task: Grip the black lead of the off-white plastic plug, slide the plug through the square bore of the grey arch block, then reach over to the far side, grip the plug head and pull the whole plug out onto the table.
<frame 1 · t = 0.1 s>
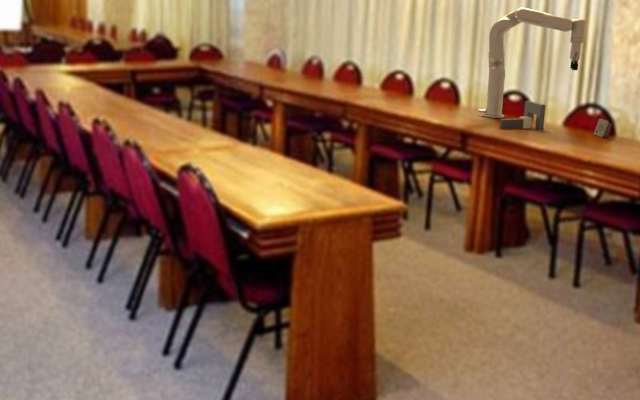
hand: (573, 69, 519), 31 cm above the table, tool pointing down, fingers open, 9 cm apart
grey arch block: (533, 127, 499), on the table
plug: (524, 127, 497), on the table
electrical switch: (601, 136, 477), on the table
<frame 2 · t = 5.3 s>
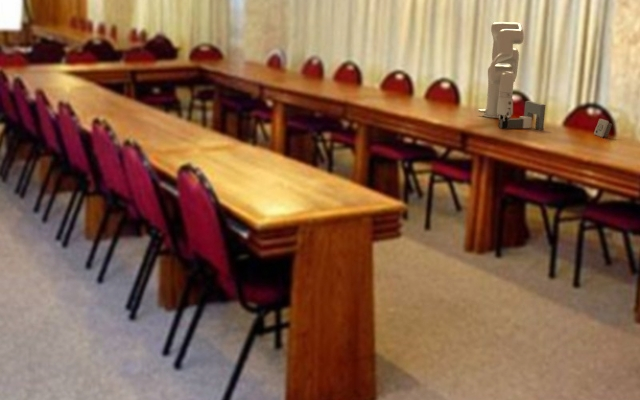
hand: (502, 127, 492), 1 cm above the table, tool pointing down, fingers closed on plug, 2 cm apart
plug: (524, 127, 497), on the table, touching gripper
everything else where it was.
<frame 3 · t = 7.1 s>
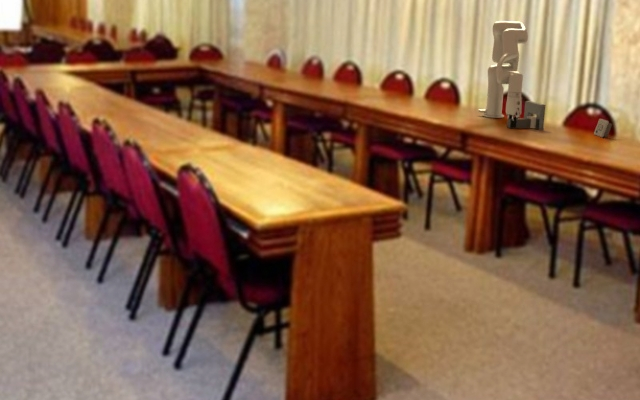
hand: (511, 126, 494), 1 cm above the table, tool pointing down, fingers closed on plug, 2 cm apart
plug: (532, 127, 499), on the table, touching gripper
everything else where it was.
when the fingers open (1 cm above the table, at t = 9.1 s): plug stays where it is, on the table.
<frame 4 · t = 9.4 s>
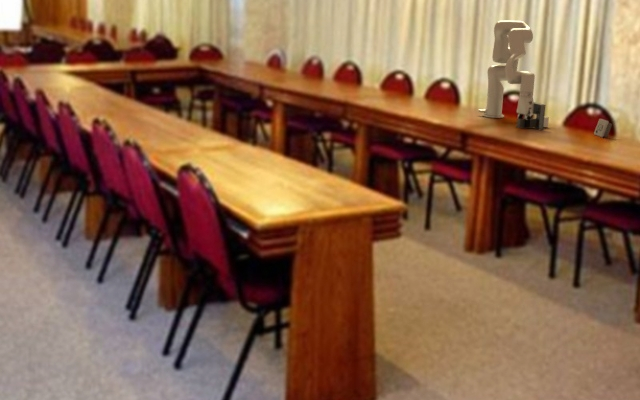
hand: (523, 125, 496), 1 cm above the table, tool pointing down, fingers open, 6 cm apart
plug: (541, 127, 501), on the table
everything else where it was.
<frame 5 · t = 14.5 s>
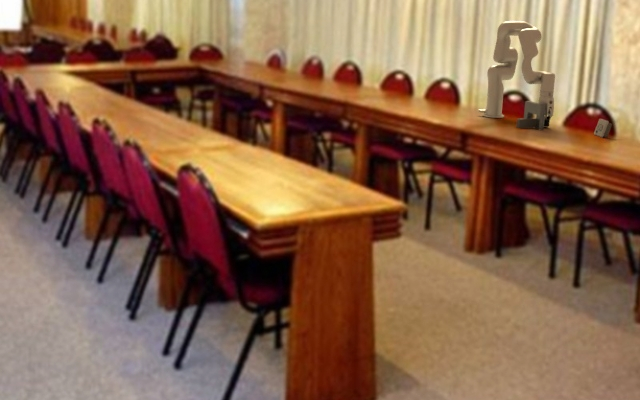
hand: (543, 125, 501), 1 cm above the table, tool pointing down, fingers closed on plug, 4 cm apart
plug: (541, 126, 501), on the table, touching gripper
everything else where it was.
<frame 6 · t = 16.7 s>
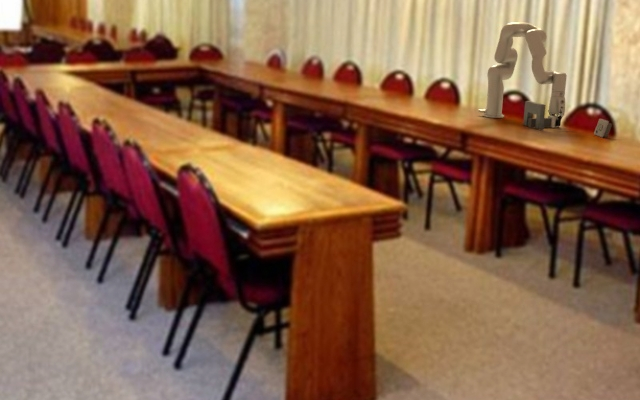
hand: (554, 125, 503), 1 cm above the table, tool pointing down, fingers closed on plug, 4 cm apart
plug: (552, 126, 503), on the table, touching gripper
everything else where it was.
when the fingers open (1 cm above the table, at t = 19.0 s): plug stays where it is, on the table.
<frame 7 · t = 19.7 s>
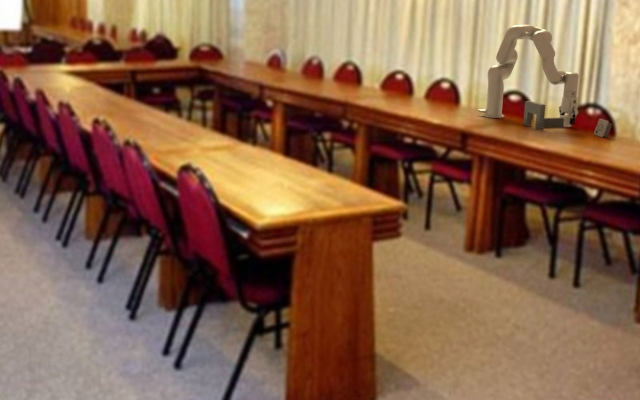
hand: (567, 123, 506), 2 cm above the table, tool pointing down, fingers open, 9 cm apart
plug: (565, 126, 506), on the table
everything else where it was.
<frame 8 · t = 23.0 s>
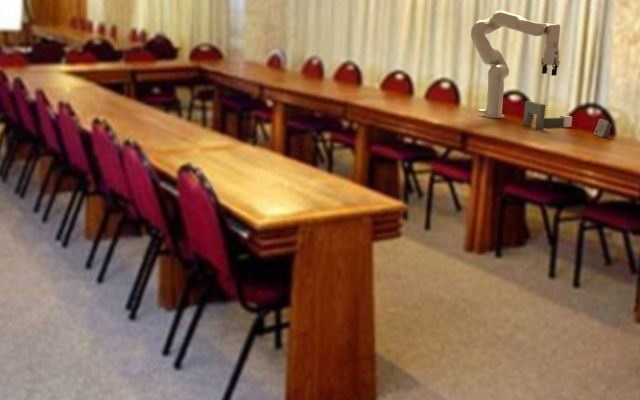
hand: (549, 74, 512), 28 cm above the table, tool pointing down, fingers open, 9 cm apart
nothing on the table moved.
at the end: plug inside the target area on the table beside the grey arch block (2.4 cm from its centre), on the table; plug tilted 0°; the gripper is holding nothing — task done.
